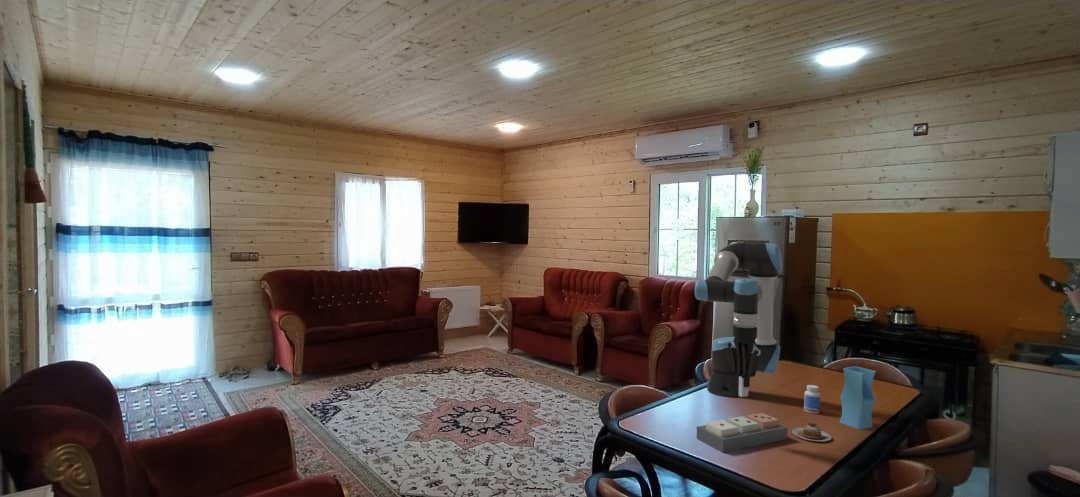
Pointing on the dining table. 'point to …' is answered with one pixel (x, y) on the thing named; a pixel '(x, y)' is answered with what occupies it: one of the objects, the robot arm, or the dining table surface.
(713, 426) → the key
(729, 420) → the key
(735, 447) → the keypad
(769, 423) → the key
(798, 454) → the dining table surface
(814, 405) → the pill bottle
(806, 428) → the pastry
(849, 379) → the vase
